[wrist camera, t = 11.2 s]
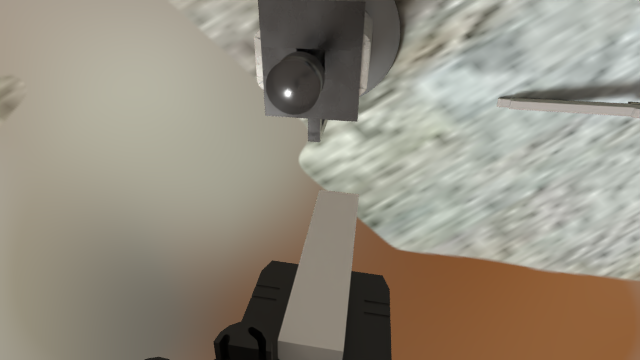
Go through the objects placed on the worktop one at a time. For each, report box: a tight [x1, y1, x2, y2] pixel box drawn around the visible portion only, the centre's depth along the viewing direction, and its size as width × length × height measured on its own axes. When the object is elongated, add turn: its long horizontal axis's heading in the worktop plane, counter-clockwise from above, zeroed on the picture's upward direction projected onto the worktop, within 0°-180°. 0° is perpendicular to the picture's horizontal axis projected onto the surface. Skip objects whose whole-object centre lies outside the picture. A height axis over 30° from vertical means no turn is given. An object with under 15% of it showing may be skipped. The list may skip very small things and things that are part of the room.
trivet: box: [358, 0, 400, 97], centre depth 43 cm, size 16×16×1 cm
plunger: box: [266, 48, 325, 115], centre depth 31 cm, size 8×8×18 cm
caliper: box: [497, 98, 640, 118], centre depth 40 cm, size 20×1×6 cm, turn 93°
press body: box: [254, 0, 373, 142], centre depth 37 cm, size 13×10×15 cm
